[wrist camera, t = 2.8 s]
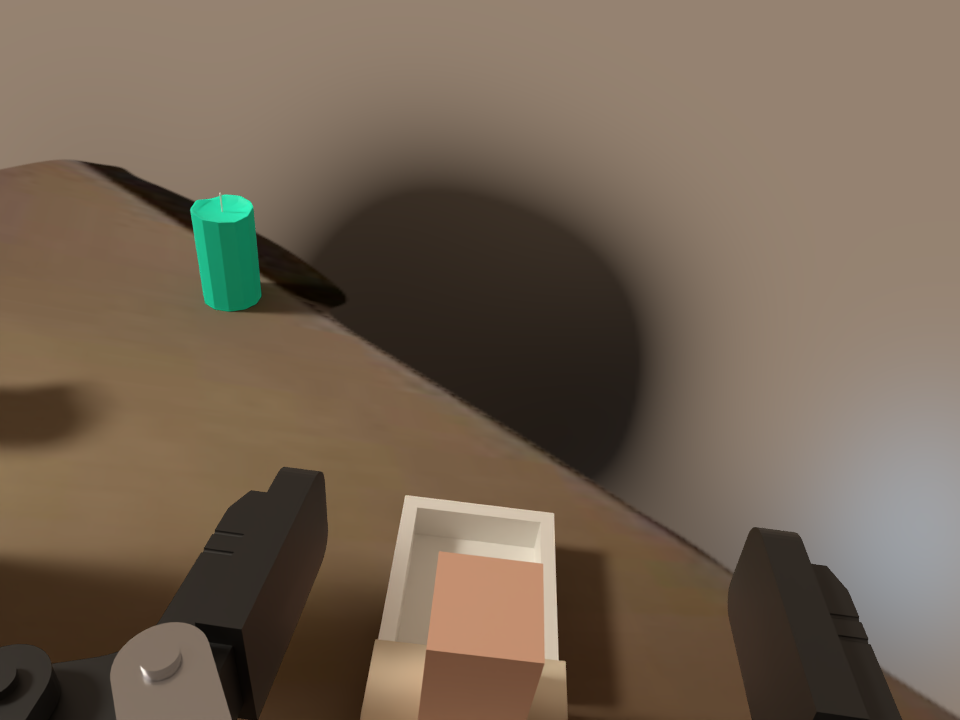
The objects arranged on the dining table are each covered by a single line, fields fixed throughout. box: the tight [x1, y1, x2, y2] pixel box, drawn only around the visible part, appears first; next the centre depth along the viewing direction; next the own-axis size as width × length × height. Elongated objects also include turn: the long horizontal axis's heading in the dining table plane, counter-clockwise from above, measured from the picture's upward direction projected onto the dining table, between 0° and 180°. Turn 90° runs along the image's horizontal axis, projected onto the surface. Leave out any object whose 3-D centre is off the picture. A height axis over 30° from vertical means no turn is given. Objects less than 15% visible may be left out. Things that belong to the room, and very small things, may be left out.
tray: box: [378, 495, 559, 661], centre depth 48 cm, size 12×11×4 cm
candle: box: [190, 193, 261, 312], centre depth 72 cm, size 6×6×12 cm
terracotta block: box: [418, 551, 545, 720], centre depth 34 cm, size 5×5×10 cm
